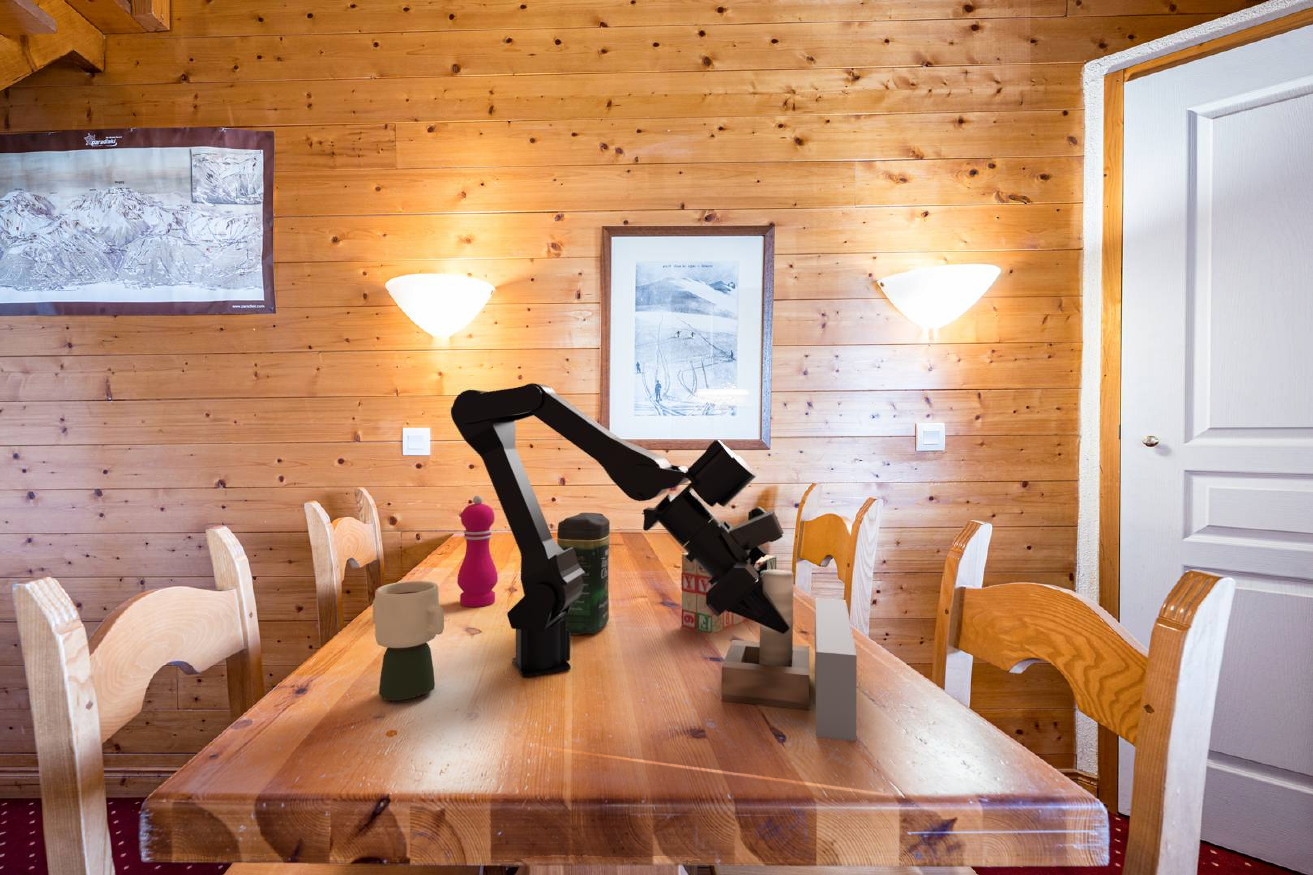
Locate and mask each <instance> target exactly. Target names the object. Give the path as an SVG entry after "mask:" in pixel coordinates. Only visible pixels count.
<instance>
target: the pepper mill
mask: <svg viewBox="0 0 1313 875" xmlns="http://www.w3.org/2000/svg"><path fill="white" fill-rule="evenodd" d="M472 501H473V504H469V505H467V506H466V507H465V508H464V509H463V510H462V512H461V515H460V522H461V524H462V526H463V527H464V529H465V530H463V533H464V534H463V538H464V539H465V542H466V547H465V553H464V554H465V555H464V558H463V560H462V562H461V566H460V567H459V570H458V574H457V582H456V583H457V585H458V587H459V588H460V590H461V591H462V592H461V593H460V595H459V604H460V606H462V607H467V608H482V607H487V606H491V605H492V604H494V603H495V602H496V592H495V591H494V590H493V589H494V588H495V586H496V585H497V584H498V579H499V577H498V571H497V568H496V565H495V564H494V560H493V558H492V555H491V552H490V539H491V538H492V537H493V536H492V532H493V530H492V529H491V527H492V526H493V525H494V522H495V512H494V510H493V508H492V507H491V506H489V505H487V504H485V503H483V501H484V499H483V497H482V496H481V495H479V494H477V495H475V496H474V497H473V499H472Z"/></svg>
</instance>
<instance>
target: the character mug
mask: <svg viewBox="0 0 1313 875" xmlns="http://www.w3.org/2000/svg"><path fill="white" fill-rule="evenodd" d="M439 590H440V589H439V585H438V584H437V583H436V582H435V581H434V582H433V581H427V580H407V581H400V582H393V583H387V584H385V585H382V586H379V587H377V588H376V590H375V595H374V596H375V597H374V598H373V601H372V621H373V623H374V625H375V626H374V628H375V630H374V634H375V635H374V636H375V641H376V644H377V645H378V646H380V647H383V648H386V650H385V651H384V654H383V657H382V665H381V671H380V679H379V688H378V694H379V696H380V697H381V698H382V699H384V700H387V701H401V700H406V699H410V698H413V697H414V698H417V697H419V696H420V695H423V694H426V693H429V692H431V691H434V689H435V685H436V682H435V675H434V673H435V672H434V670H435V669H434V664H433V658H432V651H431V647H430V645H429V642H430V641H432V640H434V639H435V638H436V636H437V635H442V634H443V632H444V629H445V627H444V626H445V615H444V614H445V611H444V608H443V607H441V606H440V598H439V597H440V594H439Z"/></svg>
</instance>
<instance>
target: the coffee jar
mask: <svg viewBox="0 0 1313 875" xmlns="http://www.w3.org/2000/svg"><path fill="white" fill-rule="evenodd" d="M557 524H558V525H557V535H556V537H557V538H556V541H557V542H556V543H557V544H558V545H559V546H560V547H561V548H562V549H563V550H566V549H568V548H571V547H573V549H574V551H575V553H576V557H577V561H578V564H579V566H580V567H581V569H582V570H583V571H584V572H585V574H583V575H582V579H583V589H582V592H581V595H580V597H579V598H578V599H577V601H575V602H574V603H572V605H571V608H570V610H569V613H568V614H565V615H564V616H562V617H563V618H564V619H565V620H566V621H567V629H568V630H569V631H570V635H574V636H575V635H578V636H579V635H583V634H590V633H591V634H594V633H598V632H599V631H600V630H602V629H603V628H605V626H606V624H607V623H608V622H609V619H610V613H609V612H610V607H609V606H610V600H609V599H610V598H609V596H610V594H609V592H610V591H609V587H610V586H609V570H610V568H609V561H610V560H609V559H610V558H609V556H610V540H611V539H610V538H611V537H610V536H611V535H610V533H611V532H610V528H611V527H610V524H611V523H610V520H609V519H608V518H607V517H606V516H604V515H603V513H597V512H580V513H578V514H576V515H573V516H570V517H565V518H564V519H563V520H560V521H559V522H558V523H557Z"/></svg>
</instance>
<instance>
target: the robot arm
mask: <svg viewBox="0 0 1313 875" xmlns="http://www.w3.org/2000/svg"><path fill="white" fill-rule="evenodd" d="M450 416H451V419H452V420H451V421H453V423H454V425H455V427H456V428H457V430H458V432H459V433H460V435H461V437H462V439H463V440H464V441H465V443H467V444H468V445H469V446H470V448H472V449H473V451H475V453H477V455H479V456H480V458H481V459H482V462H483V465H484V467H485V470H486V471H487V475H488V476H489V479H490V482H491V484H492V487H493V489H494V490H495V493H496V494H495V495H496V496H497V498H498V501H499V504H500V506H501V509H502V511H503V513H504V516H505V518H506V520H507V523H508V527H509V528H510V532H511V534H512V535H513V538H514V540H515V543H516V546H517V548H518V551H519V553H520V583H521V586H522V587H521V588H522V591H523V597H522V598H520V600H518V602H516V604H515V605H514V606H513V607H512V608H510V610H509V611H507V614H506V616H507V618H508V622H509V625H510V627H511V629H513V630H515V657H513V658H511V662H512V664H513V666H514V667H515V668H516V669H517V671H518V673H519V674H520V675H521V676H522V678H529V677H533V676H541V675H547V674H552V673H559V672H566V671H570V670H571V664H570V663H569V661H570V660H571V634H570V631H569V630H568V629H567V621H566V620H565V619H564V618H563V617H562V616H564V615H565V614H568V613H569V610H570V608H571V605H572V603H574V602H575V601H577V599H578V598H579V597H580V595H581V592H582V589H583V579H582V575H583V574H585V572H584V571H583V570H582V569H581V567H580V566H579V564H578V561H577V557H576V553H575V551H574V549H573V547H571V548H568V549H566V550H563V549H562V548H561V547H560V546H559V545H558V543H557V542H556V541H555V539H554V538H553V535H552V533H551V530H550V528H549V526H548V523H547V521H546V518H545V516H544V513H543V511H542V509H541V507H540V504H539V501H538V498H537V496H536V494H535V492H534V489H533V487H532V485H531V482H530V480H529V477H528V474H527V473H526V468H525V467H524V464H523V462H522V461H521V458H520V455H519V453H518V451H517V447H516V430H517V429H516V428H517V426H516V421H521V420H524V419H527V418H531V417H533V416H534V417H536V418H537V419H538V420H539V421H541V422H543V423H544V424H545V425H547V426H548V427H549V428H551V429H552V430H554V431H555V432H556V433H557V434H559V435H560V436H562V437H563V438H564V439H565V440H567V441H569V442H570V443H571V444H573V445H575V446H576V447H577V448H578V449H579V450H581V451H582V452H584V453H585V454H587V455H588V456H590V457H591V458H593V459H594V460H595V461H596V462H597V463H598V464H599V465H600V466H601V467H602V468H603V469H604V472H606V474H607V475H608V477H609V478H610V480H611V481H612V482H613V483H614V484H615V485H616V486H617V487H618V488H619V489H620V490H621V491H622V492H623V493H624V494H625V495H626V496H627V497H628V498H630V500H633V501H637V502H646V501H651V500H653V499H655V498H658V497H660V496H663V495H664V494H666V493H667V491H668V490H670V489H673V488H676V487H679V486H681V485H684V484H686V483H688V482H690V483H689V484H688V485H686V486H685V487H684V488H683V490H681V491H680V492H679V493H678V494H677V495H675V494H673V493H668V494H666V496H664V497H663V499H661V500H660V501H659V502H658V503H657V504H656V506H654V507H649V506H648V507H646V508H644V509H643V510H642V512H643V526H642V529H643V530H644V531H645V532H647V531H649V530H651V529H653V528H654V527H655V526H657V524H658V523H659V524H661V526H662V527H663V528H664V529H665V530H666V531H667V532H668V533H669V534H670V535H671V536H672V537H673V538H674V540H675V541H676V542H677V543H678V544H679V545H680V546H681V547H682V549H684V551H686V553H688V554H687V555H686V556H685V557H686V558H687V559H688V560H689V561H690V562H692V561H693V560H695V561H696V562H697V563H698V564H699V565H700V566H701V568H702V569H703V570H704V571H705V572H706V573H707V574H708V575H709V576H710V577H711V578H710V580H709V583H710V584H711V587H710V588H709V590H708V591H707V593H706V605H707V606H708V607H709V608H710V609H711V611H712V612H713V613H714V614H715V615H716V616H717V617H718V616H719V615H721V614H722V613H723V612H724V611H727V612H728V613H729V612H732V613H735V614H737V615H740V616H742V617H745V618H747V619H746V620H749V621H750V620H751V621H752V622H755V623H758V624H759V625H760V624H762V625H764V626H766V627H768V628H771V629H773V630H775V631H778V632H780V633H782V634H784V633H786V632H787V631H788V630H789V625H788V624H787V622H786V621H785V619H784V618H783V616H782V615H781V614H780V612H779V611H778V609H777V608H776V606H775V605H774V604H773V602H772V601H771V599H770V598H769V596H768V595H767V594H766V592H765V590H764V573H763V572H762V573H761V571H763V570H768V559H767V560H766V561H765V562H763V563H762V564H761V565H760V566H759V565H758V564H757V563H756V562H757V561H758V560H759V559H760V558H761V557H763V558H764V557H765V556H766V555H768V552H769V551H768V550H767V549H766V547H764V544H767V543H769V542H770V543H774V542H776V541H778V540H780V539H782V538H784V537H783V534H784V530H783V528H782V526H781V524H780V522H779V520H778V516H777V515H776V513H775V511H774V510H773V509H770V510H768V511H766V510H765V509H764V508H762V506H757V507H754V508H752V509H750V510H749V511H748V514H747V520H744V521H742V522H741V523H739V524H737V525H735V526H733V525H732V524H731V523H730V522H729V521H728V520H724V519H723V520H722V521H720V520H719V519H718V517H716V516H715V514H714V513H713V512H712V511H711V510H710V509H709V507H712V508H714V507H715V506H716V505H717V504H718V505H719V506H721V507H724V508H725V507H726V506H727V505H729V503H730V502H731V501H733V500H734V499H735V498H736V497H737V496H738V495H739V494H740V493H741V492H742V491H743V490H744V489H745V488H746V487H747V486H748V485H749V484H750V483H751V482H752V481H753V480H754V479H755V478H756V477H757V474H756V473H755V471H754V470H753V469H752V467H751V466H750V465H749V464H748V463H747V462H746V461H745V459H743V458H742V457H741V456H740V455H737V454H736V453H735V452H734V451H732V449H730V448H729V447H727V446H726V445H725V444H724V443H723V442H722V441H721V440H720V439H715V440H713V441H712V443H710V444H709V445H708V447H707V449H706V450H705V452H704V453H703V454H702V455H701V456H700V457H699V458H698V459H697V460H696V461H695V462H693V464H691V465H690V466H689V467H687V466H686V465H681V466H680V465H675V464H671V463H670V462H669V461H668V459H666V458H665V457H664V456H661V455H659V454H657V453H655V452H653V451H651V450H648V449H646V448H645V447H643V446H641V445H637V444H635V443H632V442H629V441H627V440H624V439H622V438H620V437H618V436H617V435H615V434H614V433H613V432H611V431H610V430H609V429H608V428H606V427H604V426H603V425H601V424H600V423H598V422H597V421H596V420H594V419H593V418H592V417H590V416H588V415H587V414H586V413H585V412H583V411H582V410H580V409H579V408H577V407H576V406H575V405H573V404H571V403H570V402H569V401H567V400H566V399H564V398H563V397H561V396H560V395H559V394H557V392H555V391H554V389H553V388H552V387H551V386H549V385H546V384H541V383H534V382H531V383H527V384H525V385H522V386H518V387H511V388H504V389H498V390H489V391H484V390H477V389H467V390H464V391H462V392H461V393H459V394H458V395H457V396H456V397H455V399H454V400H453V404H452V406H451V407H450ZM692 490H693V491H694V492H695V493H694V492H693V491H692ZM695 494H696V495H695ZM697 496H698V497H699V498H698V497H697ZM700 499H701V500H702V501H703V502H704V503H705V504H707V505H708V506H709V507H707V506H706V505H705V504H704V503H703V502H702V501H701V500H700Z"/></svg>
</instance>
